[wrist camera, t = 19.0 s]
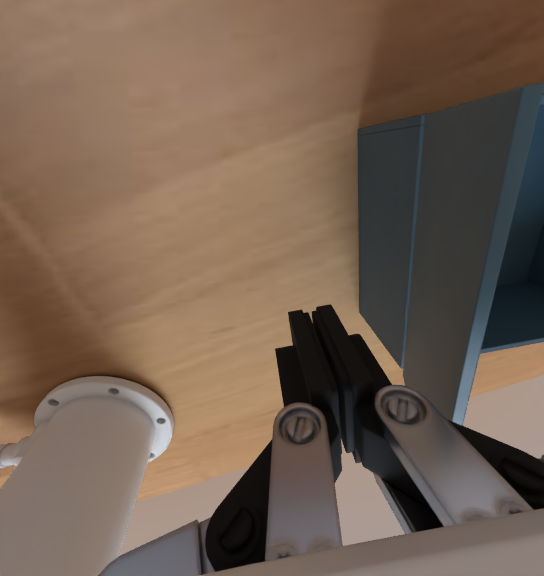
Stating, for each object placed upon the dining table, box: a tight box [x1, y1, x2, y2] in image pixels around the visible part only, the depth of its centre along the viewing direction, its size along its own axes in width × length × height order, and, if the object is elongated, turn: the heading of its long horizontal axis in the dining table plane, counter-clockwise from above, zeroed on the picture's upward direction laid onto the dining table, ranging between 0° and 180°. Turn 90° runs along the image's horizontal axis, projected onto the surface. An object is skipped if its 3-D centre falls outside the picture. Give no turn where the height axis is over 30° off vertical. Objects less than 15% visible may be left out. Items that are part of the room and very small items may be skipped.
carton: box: [358, 94, 544, 368], centre depth 19 cm, size 16×15×7 cm
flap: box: [403, 83, 544, 426], centre depth 11 cm, size 8×15×1 cm
